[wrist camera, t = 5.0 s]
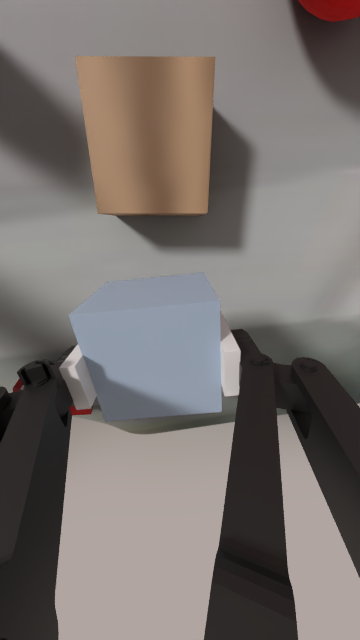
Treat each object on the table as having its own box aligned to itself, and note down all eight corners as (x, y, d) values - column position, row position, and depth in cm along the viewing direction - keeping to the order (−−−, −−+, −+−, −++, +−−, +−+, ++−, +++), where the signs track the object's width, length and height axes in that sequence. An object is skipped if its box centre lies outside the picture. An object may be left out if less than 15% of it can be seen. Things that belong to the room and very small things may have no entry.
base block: (115, 215, 25) (97, 213, 19) (102, 101, 20) (75, 56, 15) (201, 215, 25) (207, 213, 19) (205, 101, 21) (215, 56, 15)
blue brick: (126, 361, 18) (105, 421, 13) (107, 281, 15) (68, 315, 10) (207, 354, 18) (221, 411, 12) (204, 272, 15) (219, 300, 10)
